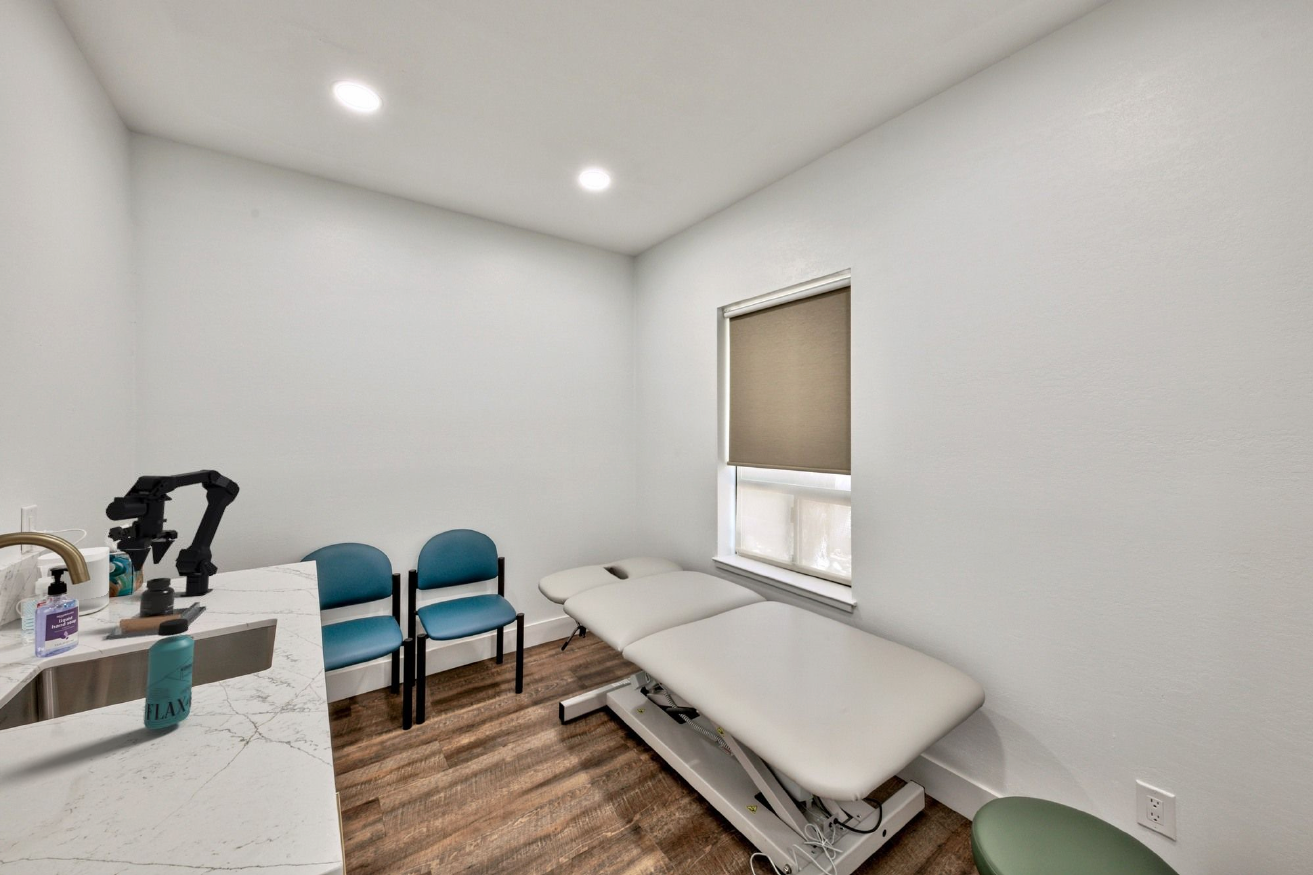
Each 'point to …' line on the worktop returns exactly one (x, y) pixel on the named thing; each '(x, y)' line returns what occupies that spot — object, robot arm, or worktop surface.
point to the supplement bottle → (157, 598)
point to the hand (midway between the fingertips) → (147, 567)
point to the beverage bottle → (169, 676)
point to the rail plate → (153, 622)
